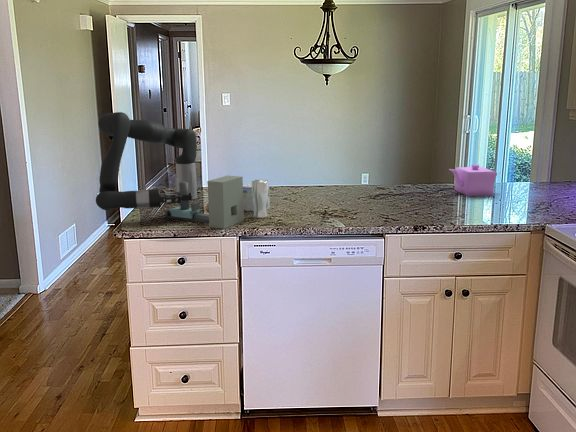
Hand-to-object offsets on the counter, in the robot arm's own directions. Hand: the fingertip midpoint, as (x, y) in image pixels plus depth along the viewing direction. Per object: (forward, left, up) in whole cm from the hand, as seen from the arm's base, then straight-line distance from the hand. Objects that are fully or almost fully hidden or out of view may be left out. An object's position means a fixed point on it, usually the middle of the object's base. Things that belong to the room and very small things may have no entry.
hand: (191, 196), depth 228 cm
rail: (+2, -2, -9) cm, 9 cm away
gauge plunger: (+15, -2, -5) cm, 16 cm away
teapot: (+94, +102, -9) cm, 139 cm away
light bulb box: (+16, +24, -9) cm, 31 cm away
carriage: (-2, -2, -8) cm, 8 cm away
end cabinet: (+18, -2, -9) cm, 21 cm away
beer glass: (+24, +14, -9) cm, 30 cm away
